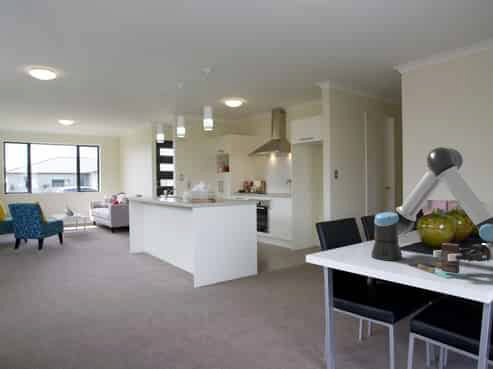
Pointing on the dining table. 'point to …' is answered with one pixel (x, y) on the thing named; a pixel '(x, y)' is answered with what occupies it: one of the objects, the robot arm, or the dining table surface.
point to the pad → (449, 274)
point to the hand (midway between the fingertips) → (441, 255)
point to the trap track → (427, 266)
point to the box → (447, 265)
